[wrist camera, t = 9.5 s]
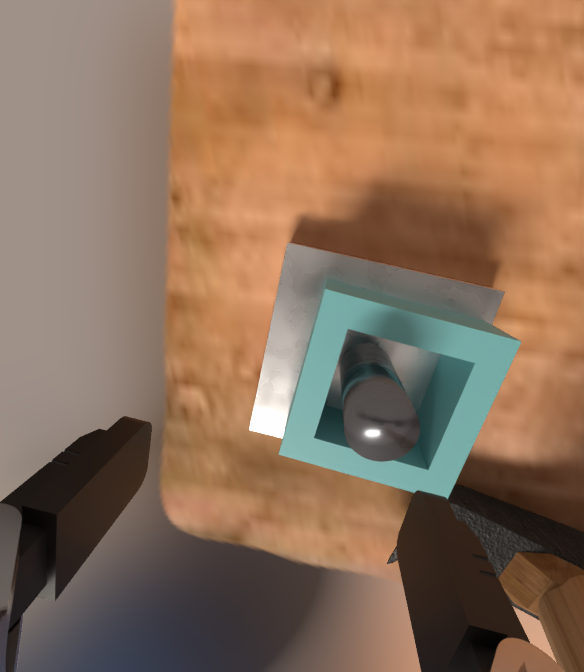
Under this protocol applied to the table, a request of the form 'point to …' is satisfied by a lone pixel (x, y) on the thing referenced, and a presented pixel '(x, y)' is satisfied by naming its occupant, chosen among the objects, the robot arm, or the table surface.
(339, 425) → the collar
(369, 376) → the stand
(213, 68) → the table surface
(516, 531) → the hammer
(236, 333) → the table surface
